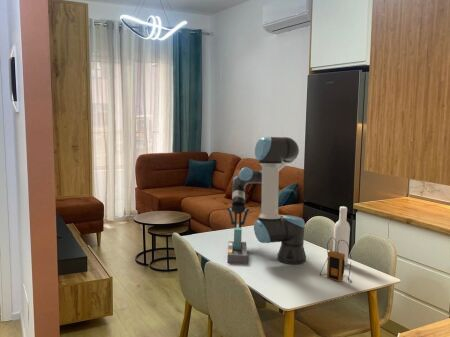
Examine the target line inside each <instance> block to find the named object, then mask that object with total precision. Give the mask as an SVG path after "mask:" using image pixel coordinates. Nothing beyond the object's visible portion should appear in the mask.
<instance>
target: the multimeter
mask: <svg viewBox="0 0 450 337" xmlns="http://www.w3.org/2000/svg"><path fill="white" fill-rule="evenodd" d="M331 239H332V237H330V238H329V240H327V245H326V252H327V258H326V261H325V262H324V265H323V266H322V268H321V271H320V272H319V276H325V275H326V279H328V280H333V281H336V282H339V283H340V282H342V281H343V280H344V277H345V275H344V274H345V261H344V259H345V254H343V253H339V252H338V247H337V252H336V246H335V251H333V250H330V251H329V249H328V244H329V242H330V240H331ZM334 239H335V238H334V237H333V240H334ZM335 241H336V240H335ZM340 241H344V240H340ZM345 242H346V241H345ZM338 243H339V242H338ZM346 243H347V242H346ZM347 245H348V244H347ZM348 247H349V250H348V251H351V249H350V245H349V246H348ZM349 255H350V258H352V254H351V252H349ZM326 263H327V265H326ZM325 265H326V266H327V268H326V273H324V274H322V271H323V269H324V267H325ZM351 267H352V263H350V264H349V269H351ZM350 273H351V270H349V271H348V276H350ZM346 279H348V280H347V281H348V282H350V283H352V279H351V278H350V277H346Z"/></svg>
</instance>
